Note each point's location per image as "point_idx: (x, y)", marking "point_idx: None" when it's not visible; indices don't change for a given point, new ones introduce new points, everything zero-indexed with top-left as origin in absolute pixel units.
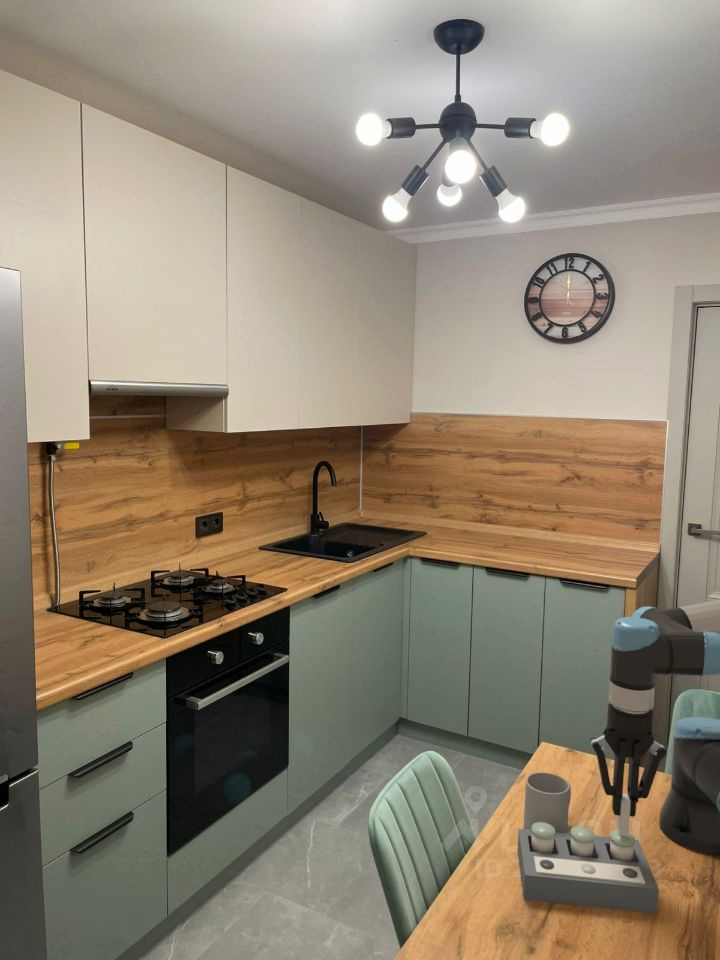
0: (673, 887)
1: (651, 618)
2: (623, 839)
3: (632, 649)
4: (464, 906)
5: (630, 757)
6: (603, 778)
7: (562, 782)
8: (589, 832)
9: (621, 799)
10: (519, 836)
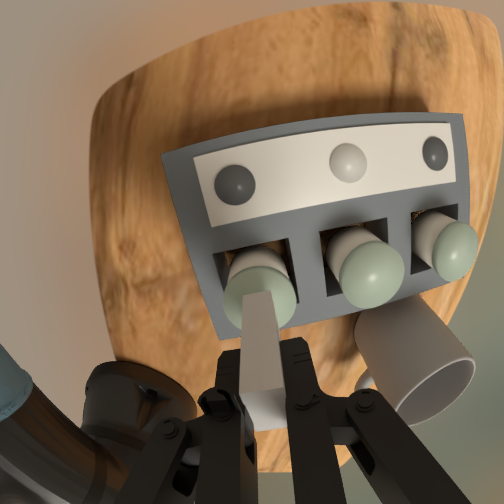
0: (152, 257)
1: None
2: (257, 290)
3: None
4: (486, 89)
5: None
6: (423, 455)
7: None
8: (356, 286)
9: (285, 395)
10: None
